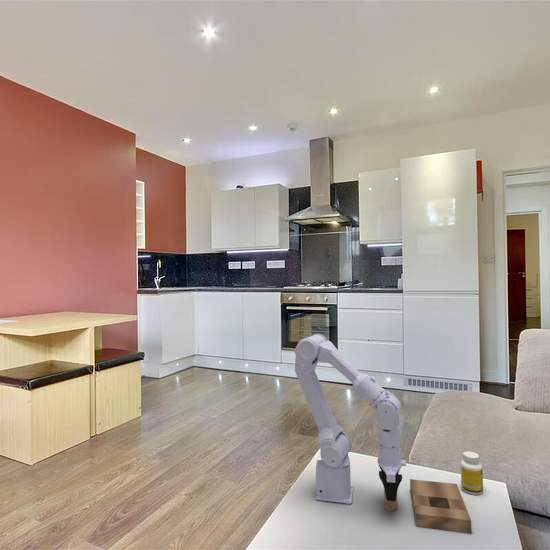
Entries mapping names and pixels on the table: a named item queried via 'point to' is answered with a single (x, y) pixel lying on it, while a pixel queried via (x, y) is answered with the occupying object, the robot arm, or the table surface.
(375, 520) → the table surface
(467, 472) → the supplement bottle
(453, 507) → the walnut socket board
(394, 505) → the beech peg
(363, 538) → the table surface
